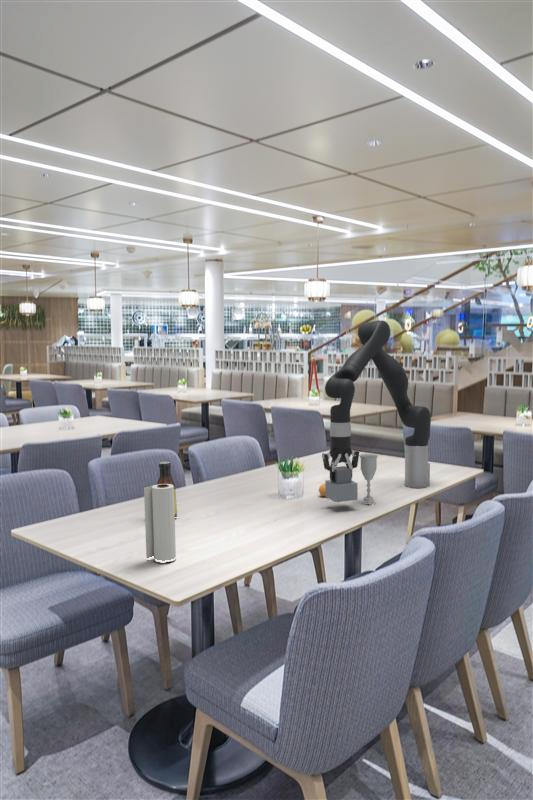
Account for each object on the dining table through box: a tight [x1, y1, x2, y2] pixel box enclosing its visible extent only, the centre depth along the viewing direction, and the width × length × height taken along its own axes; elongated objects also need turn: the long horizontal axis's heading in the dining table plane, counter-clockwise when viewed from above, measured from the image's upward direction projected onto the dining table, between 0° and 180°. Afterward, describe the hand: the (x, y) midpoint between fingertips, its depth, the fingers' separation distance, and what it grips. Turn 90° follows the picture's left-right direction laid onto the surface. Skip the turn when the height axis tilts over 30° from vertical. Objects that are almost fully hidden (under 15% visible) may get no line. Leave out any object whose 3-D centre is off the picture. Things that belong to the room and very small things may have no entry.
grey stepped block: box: [324, 465, 359, 503], centre depth 223 cm, size 9×9×11 cm
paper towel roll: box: [143, 484, 177, 561], centre depth 173 cm, size 7×6×21 cm
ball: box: [318, 483, 327, 498], centre depth 241 cm, size 5×5×5 cm
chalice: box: [359, 453, 378, 506], centre depth 230 cm, size 7×7×18 cm
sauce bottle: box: [156, 461, 178, 518], centre depth 213 cm, size 7×6×20 cm
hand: (341, 480), depth 223 cm, fingers closed on grey stepped block, 5 cm apart
